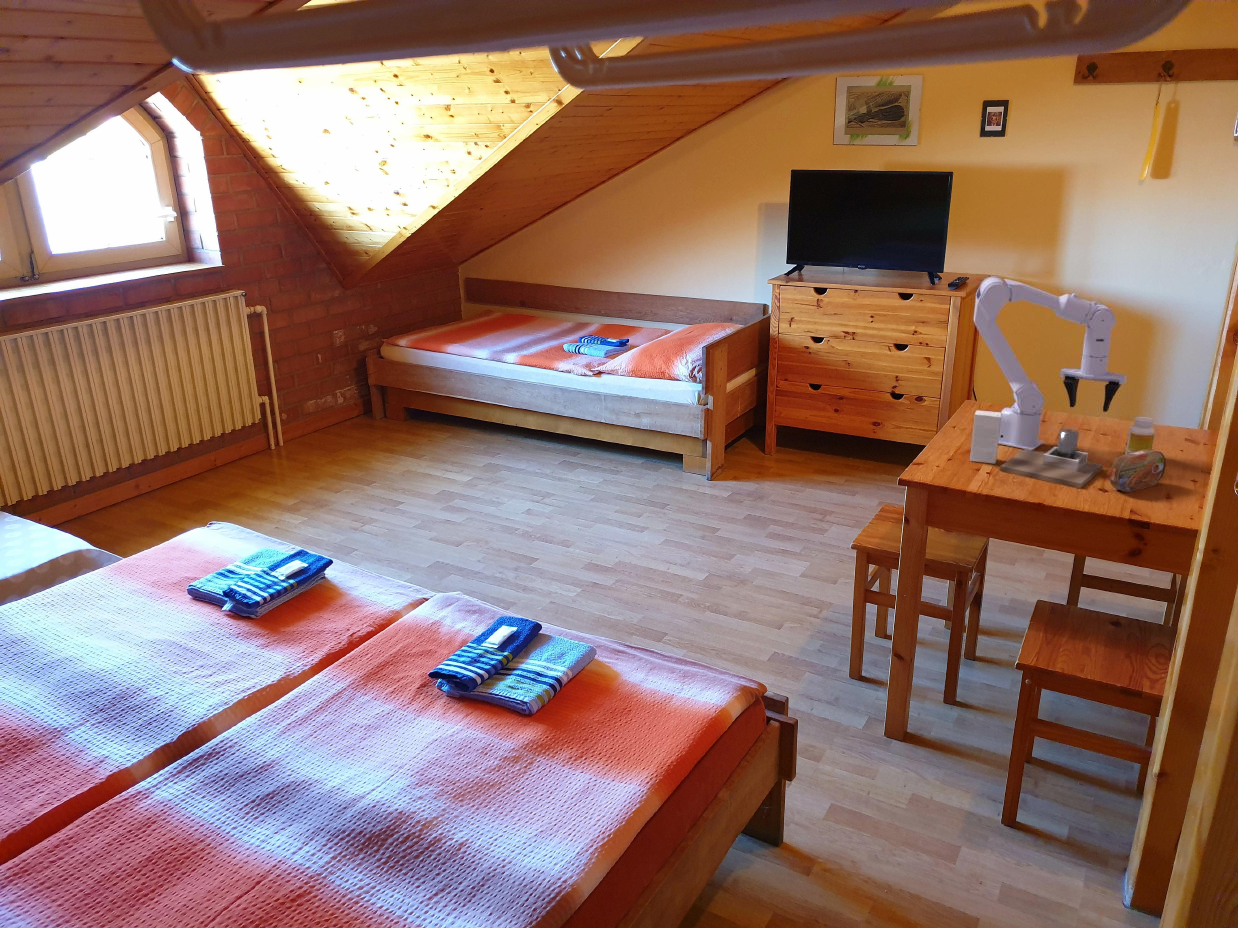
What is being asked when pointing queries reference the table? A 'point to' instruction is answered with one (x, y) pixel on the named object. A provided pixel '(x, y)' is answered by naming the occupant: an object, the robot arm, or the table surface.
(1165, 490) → the table surface
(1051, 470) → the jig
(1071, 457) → the grey metal cylinder
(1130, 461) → the tin
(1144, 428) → the supplement bottle
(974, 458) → the skincare box
